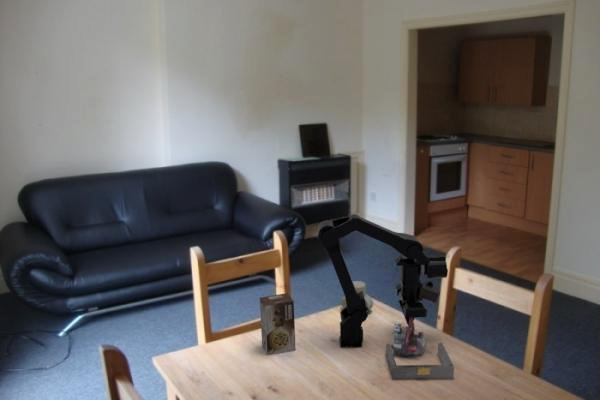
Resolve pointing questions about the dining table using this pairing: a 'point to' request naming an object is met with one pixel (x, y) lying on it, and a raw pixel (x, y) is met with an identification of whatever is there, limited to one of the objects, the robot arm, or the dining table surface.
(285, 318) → the coffee box
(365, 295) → the air freshener
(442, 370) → the receiver
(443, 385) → the dining table surface
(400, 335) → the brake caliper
